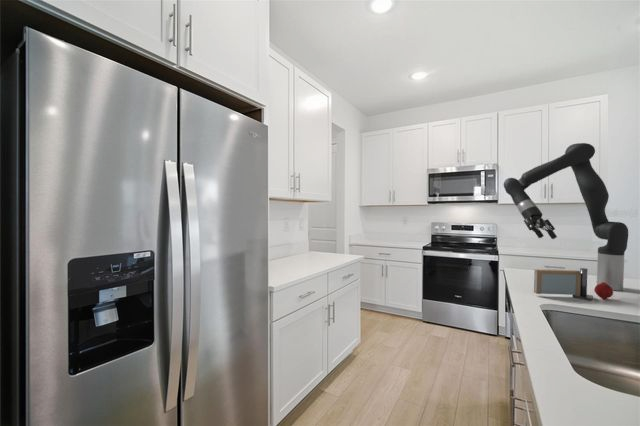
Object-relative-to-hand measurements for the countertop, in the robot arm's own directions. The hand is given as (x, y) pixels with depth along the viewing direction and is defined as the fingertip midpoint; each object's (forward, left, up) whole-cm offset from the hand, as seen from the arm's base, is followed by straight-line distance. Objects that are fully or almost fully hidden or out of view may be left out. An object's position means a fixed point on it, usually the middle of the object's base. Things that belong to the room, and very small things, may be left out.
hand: (548, 237), depth 132 cm
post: (-3, +12, -26) cm, 29 cm away
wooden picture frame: (+5, +5, -25) cm, 25 cm away
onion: (-7, +18, -26) cm, 33 cm away
